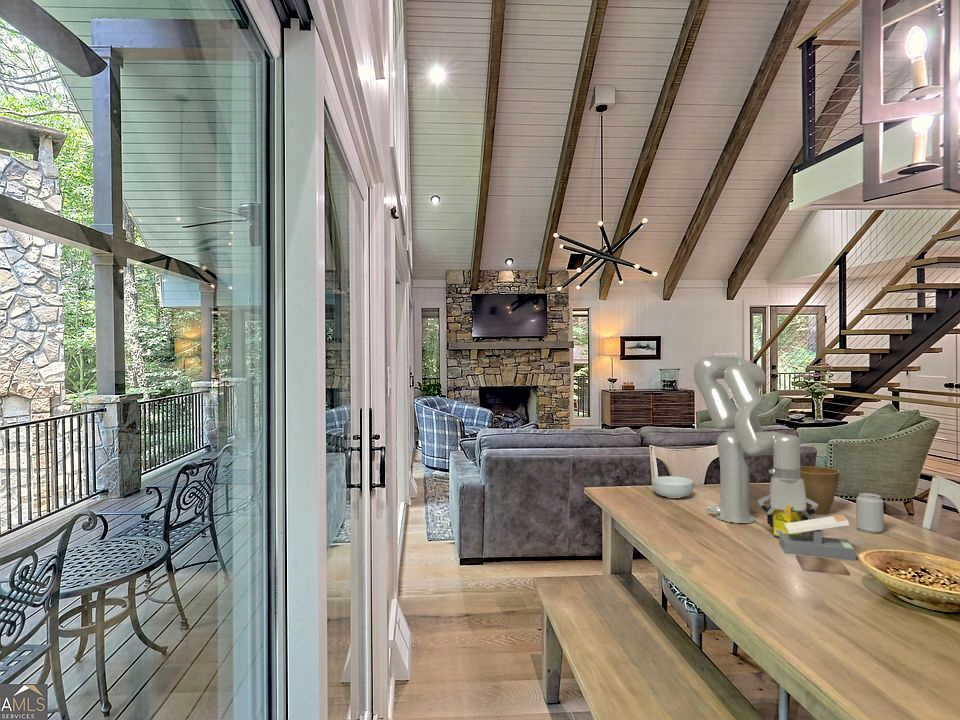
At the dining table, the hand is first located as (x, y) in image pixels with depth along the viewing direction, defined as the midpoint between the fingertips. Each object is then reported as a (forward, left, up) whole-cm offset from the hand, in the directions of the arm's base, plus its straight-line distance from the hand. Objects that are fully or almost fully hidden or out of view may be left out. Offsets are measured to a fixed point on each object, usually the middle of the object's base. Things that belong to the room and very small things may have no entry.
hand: (787, 527), depth 180 cm
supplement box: (0, 0, -4) cm, 4 cm away
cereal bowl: (-36, +46, -4) cm, 59 cm away
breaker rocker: (+6, -11, +5) cm, 13 cm away
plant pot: (+15, +38, -4) cm, 41 cm away
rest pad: (+5, -24, -3) cm, 25 cm away
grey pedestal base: (+6, -11, -3) cm, 13 cm away
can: (+27, +18, -4) cm, 33 cm away
